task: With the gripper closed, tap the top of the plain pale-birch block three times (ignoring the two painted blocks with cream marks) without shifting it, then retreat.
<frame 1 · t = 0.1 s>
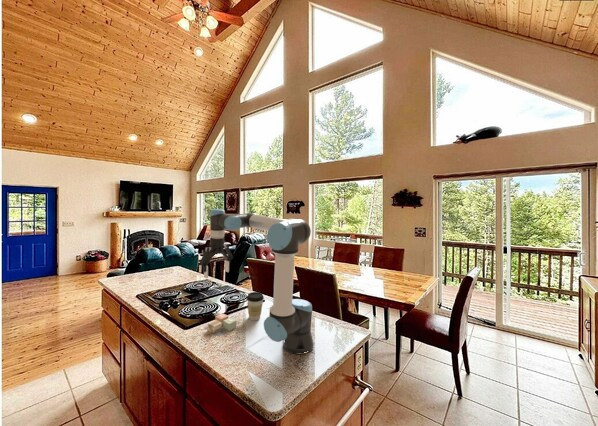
hand: (216, 274, 160), 28 cm above the worktop, fingers open, 13 cm apart
square tile: (220, 329, 155), on the worktop
birch block: (215, 330, 152), point 1 cm above the worktop, touching square tile
sage block: (229, 327, 156), point 1 cm above the worktop, touching square tile
terracotta block: (221, 322, 160), point 1 cm above the worktop, touching square tile
coffee cup: (254, 319, 168), on the worktop
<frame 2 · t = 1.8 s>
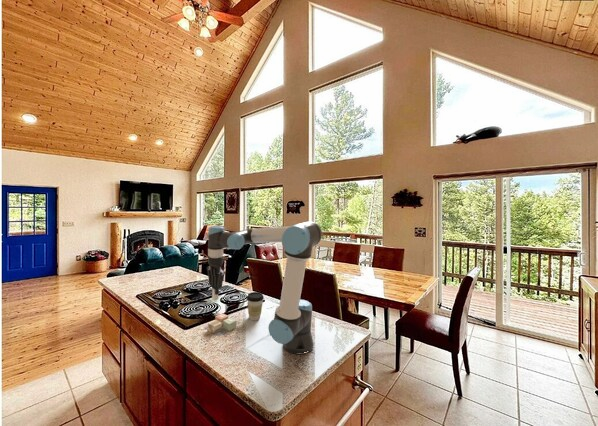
hand: (215, 299, 150), 18 cm above the worktop, fingers closed
nothing on the worktop moved.
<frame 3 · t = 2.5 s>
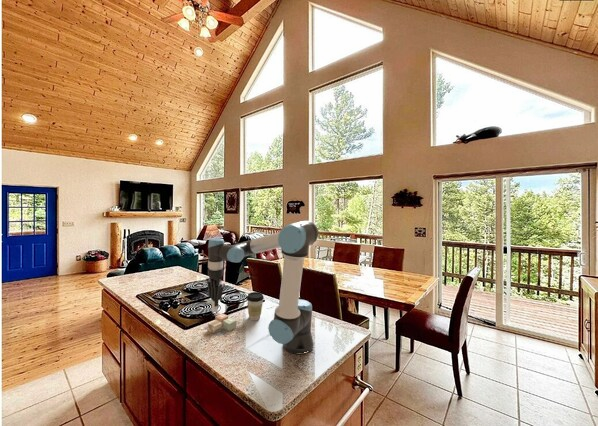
hand: (214, 311, 151), 12 cm above the worktop, fingers closed
nothing on the worktop moved.
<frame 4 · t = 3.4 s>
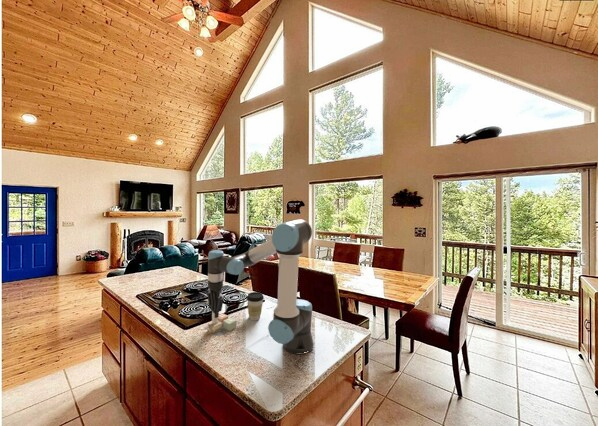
hand: (215, 322, 152), 5 cm above the worktop, fingers closed
birch block: (215, 330, 152), point 1 cm above the worktop, touching gripper, square tile
everything else where it was.
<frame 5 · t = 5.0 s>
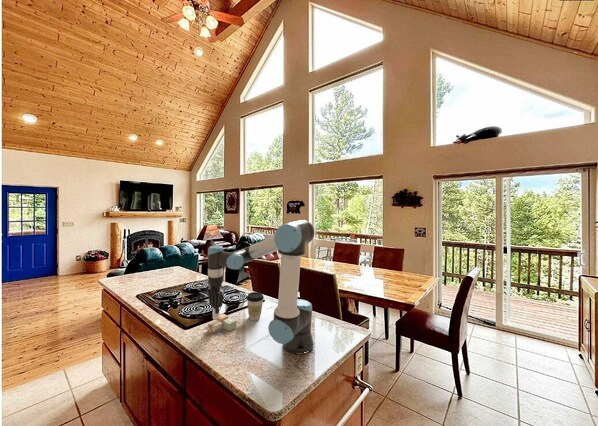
hand: (215, 318, 151), 8 cm above the worktop, fingers closed
birch block: (215, 330, 152), point 1 cm above the worktop, touching square tile
everything else where it was.
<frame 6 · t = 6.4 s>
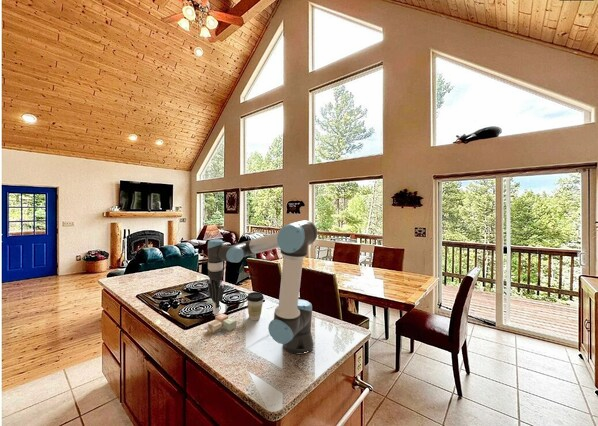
hand: (216, 312, 151), 11 cm above the worktop, fingers closed
nothing on the worktop moved.
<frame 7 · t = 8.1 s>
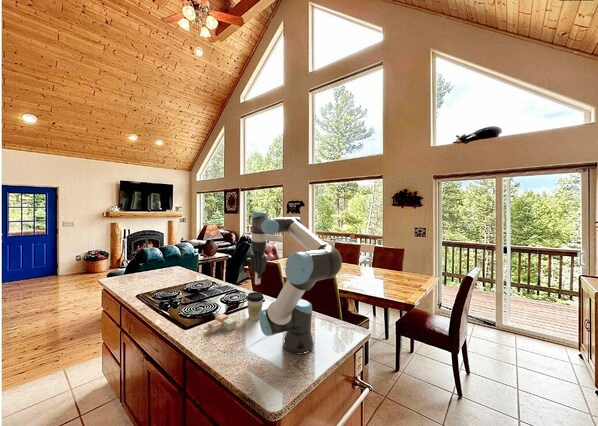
hand: (257, 283, 153), 26 cm above the worktop, fingers closed
nothing on the worktop moved.
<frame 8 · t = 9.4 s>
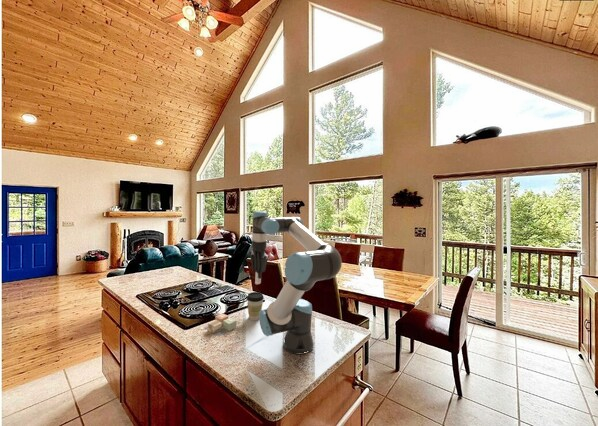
hand: (258, 283, 153), 26 cm above the worktop, fingers closed
nothing on the worktop moved.
at the end: birch block moved 0.0 cm from its start; birch block tilted 0°; birch block touching square tile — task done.
